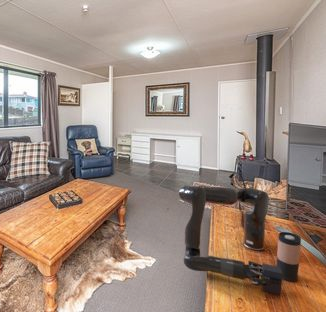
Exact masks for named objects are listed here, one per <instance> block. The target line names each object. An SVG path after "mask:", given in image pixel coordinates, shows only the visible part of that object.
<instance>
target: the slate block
mask: <svg viewBox="0 0 326 312" xmlns="http://www.w3.org/2000/svg"><path fill="white" fill-rule="evenodd" d="M261 265H262V271H261V272H262V274H263V275H264V276H267V277H269V278H270V277H271V278H276V279H280V280H281V281H282V283H281V285H276V284H271V283H270V284H269V286H261V289H262V291H263V292H266V293H270V294H273V295H279V296H282V285H283V279H282V271H281V269H280V267H278V266H277V265H271V264H268V263H261ZM263 279H265V278H263ZM262 283H264V282H262Z"/></svg>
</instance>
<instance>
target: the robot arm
mask: <svg viewBox="0 0 326 312" xmlns="http://www.w3.org/2000/svg"><path fill="white" fill-rule="evenodd" d="M178 196H179V198H180V200H181V201H183V202H184V203H186V204H189V205H191V215H190V218H189V220H188V221H187V223H186V225H185V228H184V229H185V230H184V245H185V253H184V258H183V264H184V266H185V267H186V268H188V269H189V270H191V271H195V272H210V273H215V274H218V275H222V276H225V277H228V278H233V279H238V280H241V281H244V280H245V279H247V280H249V281H250V282H251V286H258V287H262V286H269V284H270V283H271V284H276V285H281V283H282V284H283V280H282V281H281V280H280V279H276V278H271V277H270V278H269V277H267V276H264V275H263V274H262V264H261V263H258V262H254V261H250V260H248V263H247V264H246V263H245V262H244V261H242V260H237V259H234V258H233V259H232V258H227V257H219V256H214V255H207V256H201V242H202V241H201V238H202V237H201V236H202V235H201V234H202V232H201V231H202V223H203V218H204V213H205V207H206V204H207V203H208V204H212V205H213V204H214V205H220V206H221V205H222V206H232V205H235V204H236V203H243V204H247V205H250V206H253V209H247V210H245V211H244V212H243V211H242V209H241V208H240V207H236V209H237V210H239V211H240V212H241V220H240V223H241V226H242V229H243V231H244V232H243V246H244V247H245V248H247V249H249V250H251V251H258V252H259V251H263V250H264V249H265V236H266V235H265V233H266V232H265V231H266V217H267V215H268V210H269V202H270V197H269V193H268V192H266V191H265V190H262V189H261V190H260V189H258V188H254V187H243V188H242V187H241V188H236V187H229V186H207V187H206V186H205V187H203V186H199V185H192V184H186V185H183V186H182V187H181V188H180V189H179V191H178ZM243 221H244V222H243ZM263 278H265V279H263ZM262 282H264V283H262Z"/></svg>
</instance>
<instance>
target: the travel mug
mask: <svg viewBox="0 0 326 312" xmlns="http://www.w3.org/2000/svg"><path fill="white" fill-rule="evenodd" d="M277 239H278V240H277V250H276V251H277V253H276V266H278V267H280V269H281V271H282V281H283V280H284V281H286V282H291V283H292V282H293V283H295V282H296V281H297V280H298V274H299V269H300V268H299V267H300V259H301V258H300V257H301V244H302V238H301V236H300V235H299V234H296V233H293V232H290V231H289V232H288V231H281V232H279V233H278V238H277Z"/></svg>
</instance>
